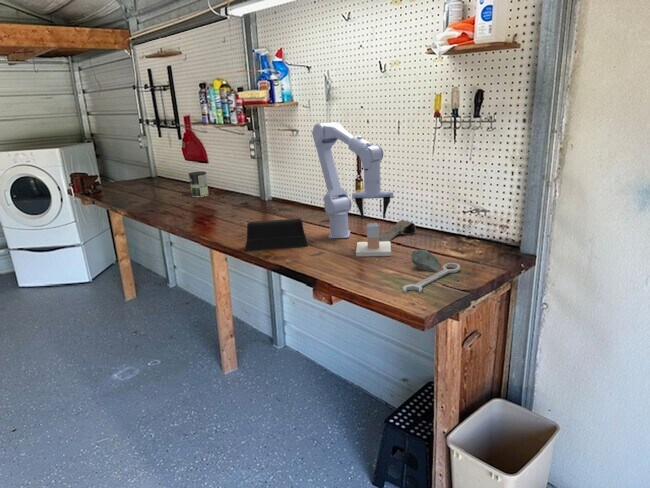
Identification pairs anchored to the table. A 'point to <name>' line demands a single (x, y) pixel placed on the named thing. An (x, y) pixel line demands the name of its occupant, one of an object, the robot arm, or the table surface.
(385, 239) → the axe head
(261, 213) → the table surface
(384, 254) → the base board
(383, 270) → the table surface
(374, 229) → the grey blue block
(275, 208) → the table surface
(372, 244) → the terracotta block
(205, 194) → the coffee can
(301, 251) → the table surface
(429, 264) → the stone
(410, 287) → the wrench
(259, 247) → the barrier
